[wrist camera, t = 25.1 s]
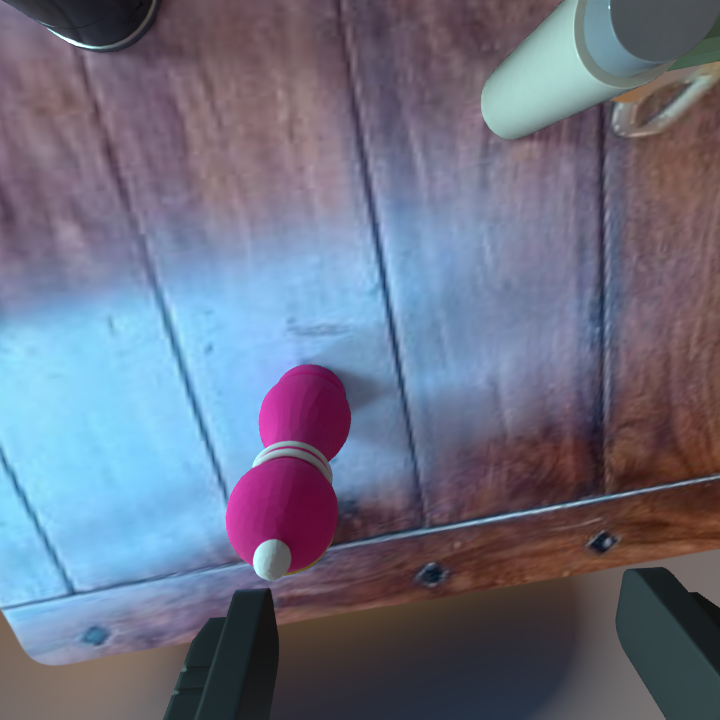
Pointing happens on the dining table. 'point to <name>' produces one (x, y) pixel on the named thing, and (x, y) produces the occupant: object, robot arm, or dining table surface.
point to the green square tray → (702, 50)
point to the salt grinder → (589, 59)
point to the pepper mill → (291, 475)
